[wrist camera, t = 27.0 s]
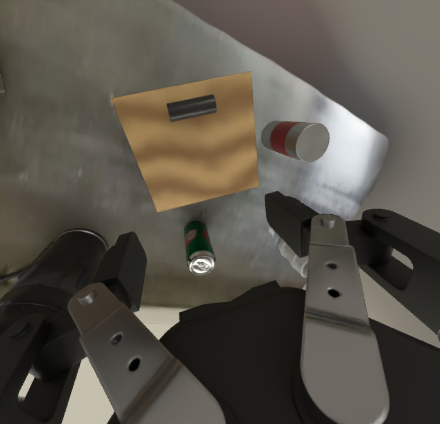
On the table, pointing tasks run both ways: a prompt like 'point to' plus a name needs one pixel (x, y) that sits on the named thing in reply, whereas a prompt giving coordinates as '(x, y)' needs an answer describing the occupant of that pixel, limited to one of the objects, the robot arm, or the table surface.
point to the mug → (294, 258)
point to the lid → (193, 139)
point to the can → (296, 139)
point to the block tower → (2, 84)
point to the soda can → (198, 248)
